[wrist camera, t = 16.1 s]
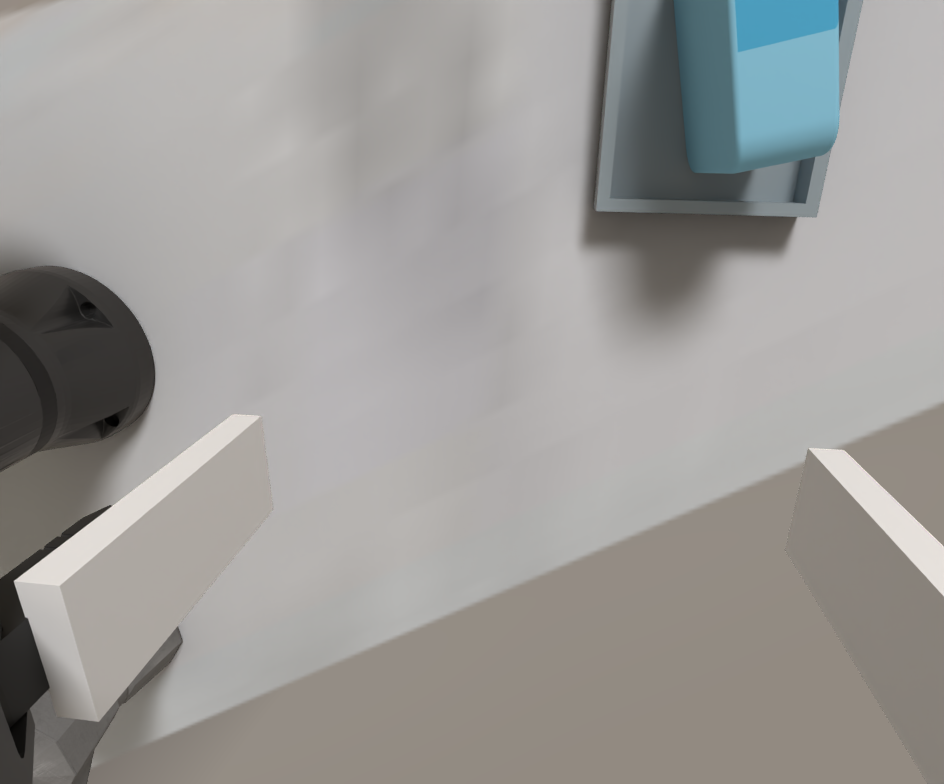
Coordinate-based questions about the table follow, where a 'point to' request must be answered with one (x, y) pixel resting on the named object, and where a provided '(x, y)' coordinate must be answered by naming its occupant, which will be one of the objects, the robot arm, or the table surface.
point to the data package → (757, 81)
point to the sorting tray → (663, 136)
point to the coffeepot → (82, 728)
